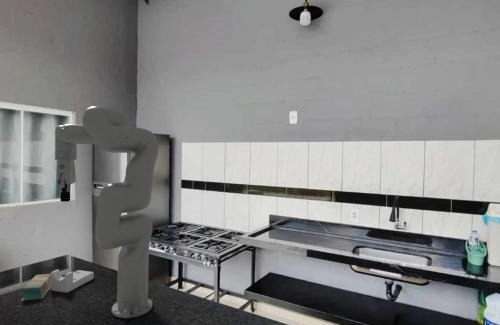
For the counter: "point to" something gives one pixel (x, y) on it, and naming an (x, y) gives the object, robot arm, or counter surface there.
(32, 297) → the maple block
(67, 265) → the counter surface
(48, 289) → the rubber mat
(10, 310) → the counter surface
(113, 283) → the counter surface
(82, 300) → the counter surface
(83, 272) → the bracket
